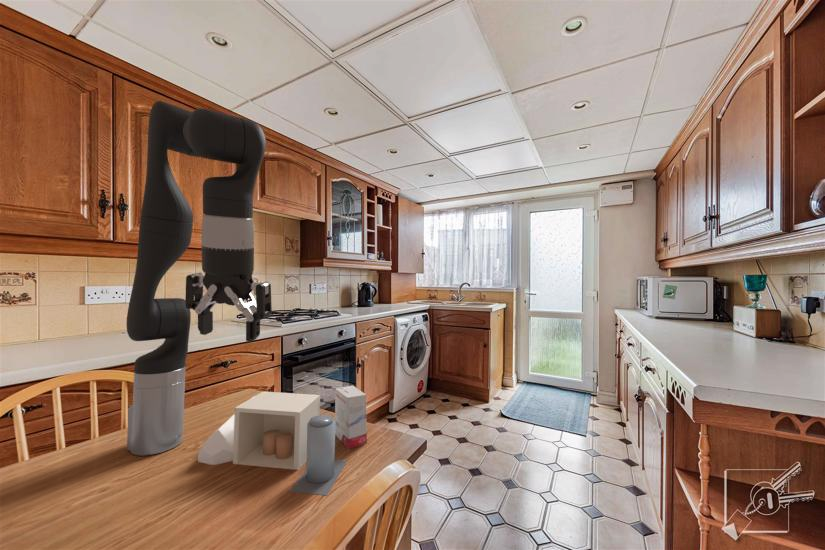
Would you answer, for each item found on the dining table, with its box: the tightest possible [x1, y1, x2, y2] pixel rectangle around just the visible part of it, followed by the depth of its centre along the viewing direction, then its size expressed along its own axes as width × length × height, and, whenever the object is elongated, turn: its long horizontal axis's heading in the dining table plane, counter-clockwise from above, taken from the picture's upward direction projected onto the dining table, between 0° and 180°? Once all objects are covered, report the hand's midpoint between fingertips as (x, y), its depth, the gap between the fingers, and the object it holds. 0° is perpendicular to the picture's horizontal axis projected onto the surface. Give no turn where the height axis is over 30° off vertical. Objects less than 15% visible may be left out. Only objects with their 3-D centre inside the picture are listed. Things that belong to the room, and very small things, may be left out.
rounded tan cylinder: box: [276, 433, 292, 459], centre depth 69 cm, size 3×3×4 cm
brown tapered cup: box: [263, 430, 280, 455], centre depth 70 cm, size 3×3×4 cm
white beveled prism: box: [197, 395, 255, 466], centre depth 76 cm, size 7×7×24 cm
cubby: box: [232, 391, 321, 471], centre depth 69 cm, size 14×10×12 cm
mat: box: [288, 459, 348, 497], centre depth 62 cm, size 7×11×1 cm, turn 173°
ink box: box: [334, 385, 368, 449], centre depth 77 cm, size 9×5×12 cm, turn 33°
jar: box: [305, 414, 336, 483], centre depth 62 cm, size 5×5×11 cm
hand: (228, 336), depth 56 cm, fingers open, 8 cm apart
